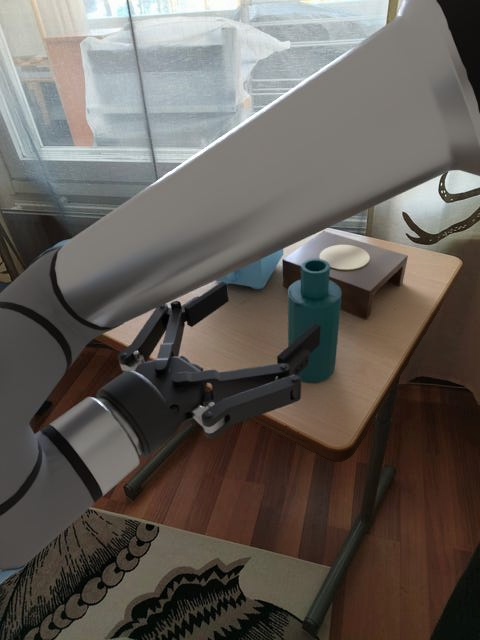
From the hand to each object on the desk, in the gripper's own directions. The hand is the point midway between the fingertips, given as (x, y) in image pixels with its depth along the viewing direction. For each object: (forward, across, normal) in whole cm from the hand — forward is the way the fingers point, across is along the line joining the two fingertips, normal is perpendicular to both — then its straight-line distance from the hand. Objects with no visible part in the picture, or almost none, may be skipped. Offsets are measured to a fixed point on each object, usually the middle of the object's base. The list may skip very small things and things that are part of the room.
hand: (268, 310), depth 49 cm
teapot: (+26, -26, -17) cm, 40 cm away
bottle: (+10, 0, -17) cm, 19 cm away
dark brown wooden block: (+32, -8, -17) cm, 37 cm away
